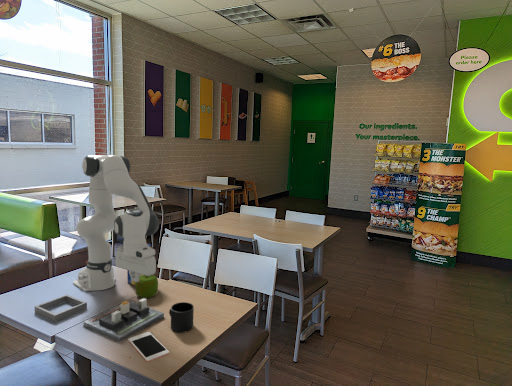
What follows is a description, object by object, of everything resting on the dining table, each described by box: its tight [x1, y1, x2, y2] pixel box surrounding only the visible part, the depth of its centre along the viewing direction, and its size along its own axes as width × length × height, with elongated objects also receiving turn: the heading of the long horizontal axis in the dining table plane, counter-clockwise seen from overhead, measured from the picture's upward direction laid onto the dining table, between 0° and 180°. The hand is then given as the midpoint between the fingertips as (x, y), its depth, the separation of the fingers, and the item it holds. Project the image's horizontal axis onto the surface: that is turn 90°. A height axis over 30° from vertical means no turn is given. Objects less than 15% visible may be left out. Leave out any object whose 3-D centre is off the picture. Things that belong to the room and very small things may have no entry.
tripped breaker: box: [120, 300, 129, 314], centre depth 151 cm, size 2×3×5 cm, turn 151°
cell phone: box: [127, 331, 170, 363], centre depth 134 cm, size 9×18×1 cm, turn 41°
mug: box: [168, 301, 195, 334], centre depth 149 cm, size 9×12×9 cm
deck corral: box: [34, 294, 88, 323], centre depth 158 cm, size 15×15×3 cm
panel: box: [83, 298, 165, 343], centre depth 151 cm, size 22×24×8 cm
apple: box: [134, 274, 159, 299], centre depth 178 cm, size 11×11×11 cm
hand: (135, 281), depth 146 cm, fingers closed
